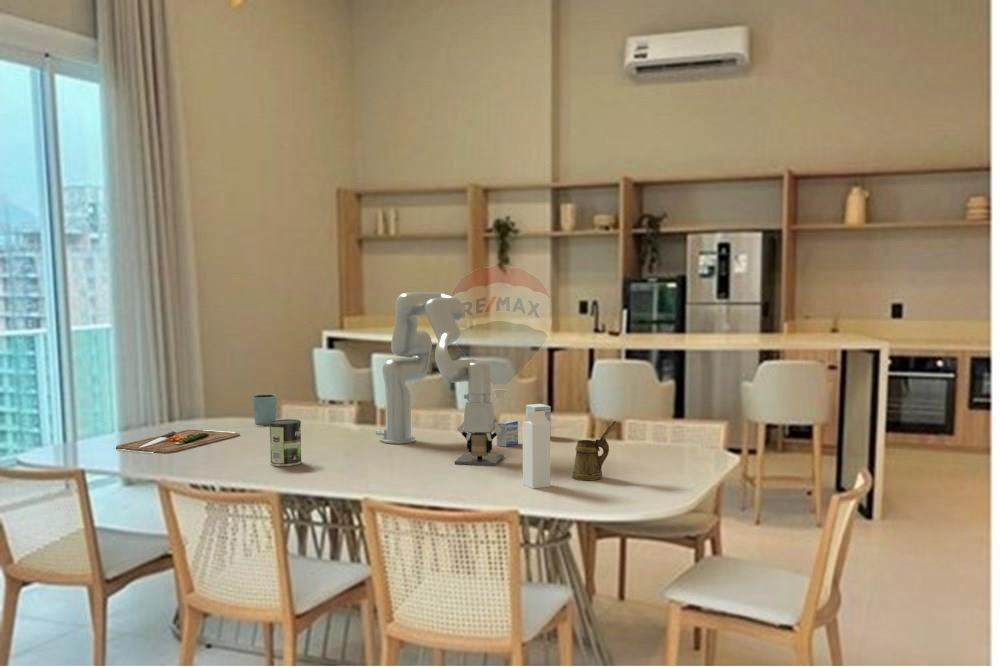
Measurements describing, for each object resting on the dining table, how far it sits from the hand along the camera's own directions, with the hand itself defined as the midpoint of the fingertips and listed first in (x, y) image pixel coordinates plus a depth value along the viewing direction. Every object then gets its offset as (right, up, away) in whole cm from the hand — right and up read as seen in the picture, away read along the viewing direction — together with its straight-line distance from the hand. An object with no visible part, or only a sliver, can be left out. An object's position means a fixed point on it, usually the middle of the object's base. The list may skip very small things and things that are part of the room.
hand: (479, 451), depth 288 cm
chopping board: (-115, -2, +38) cm, 121 cm away
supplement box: (+22, -1, +44) cm, 49 cm away
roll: (0, -1, 0) cm, 1 cm away
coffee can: (-65, -4, -3) cm, 65 cm away
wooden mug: (+36, -5, -26) cm, 44 cm away
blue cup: (-95, +1, +80) cm, 124 cm away
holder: (0, -3, 0) cm, 3 cm away
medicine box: (+10, -2, +29) cm, 30 cm away
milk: (+18, -5, -36) cm, 40 cm away
